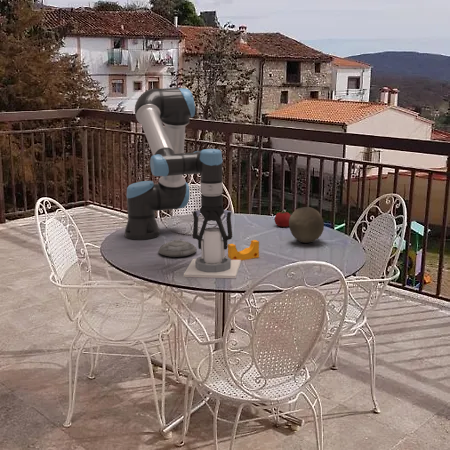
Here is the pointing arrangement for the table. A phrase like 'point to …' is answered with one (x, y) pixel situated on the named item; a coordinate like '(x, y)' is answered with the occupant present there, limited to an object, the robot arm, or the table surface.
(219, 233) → the can
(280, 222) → the tomato
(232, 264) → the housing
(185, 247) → the grey stepped dome
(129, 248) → the table surface
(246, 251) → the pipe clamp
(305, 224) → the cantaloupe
